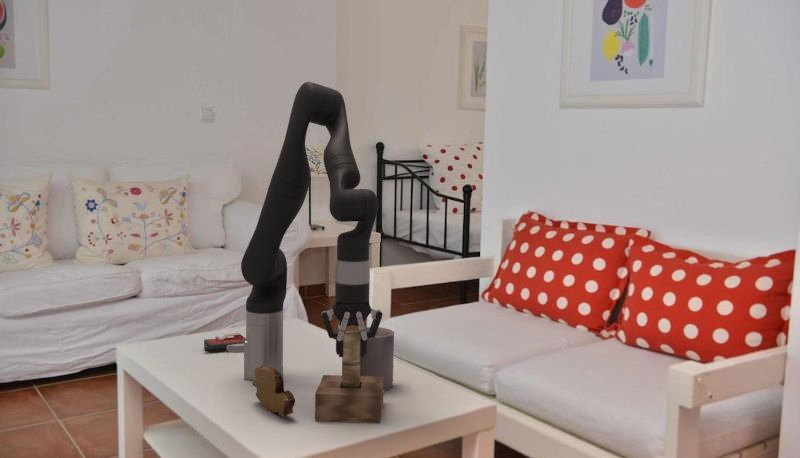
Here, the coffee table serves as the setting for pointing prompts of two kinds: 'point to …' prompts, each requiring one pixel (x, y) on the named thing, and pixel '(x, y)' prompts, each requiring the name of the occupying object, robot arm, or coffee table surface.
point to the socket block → (349, 400)
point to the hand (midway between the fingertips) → (351, 355)
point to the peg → (351, 359)
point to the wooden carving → (273, 391)
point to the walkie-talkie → (225, 344)
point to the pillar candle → (379, 356)
